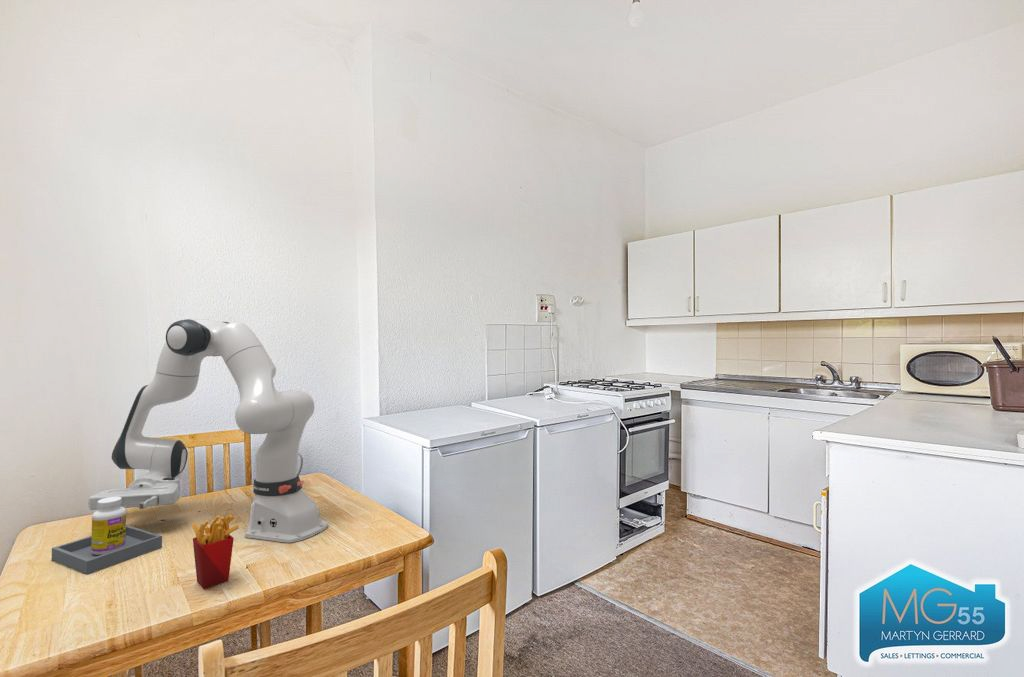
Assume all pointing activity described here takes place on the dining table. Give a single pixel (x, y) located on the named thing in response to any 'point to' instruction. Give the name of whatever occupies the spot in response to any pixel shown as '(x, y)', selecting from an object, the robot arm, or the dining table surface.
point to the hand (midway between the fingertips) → (121, 507)
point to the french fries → (213, 551)
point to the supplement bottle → (108, 526)
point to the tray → (86, 562)
